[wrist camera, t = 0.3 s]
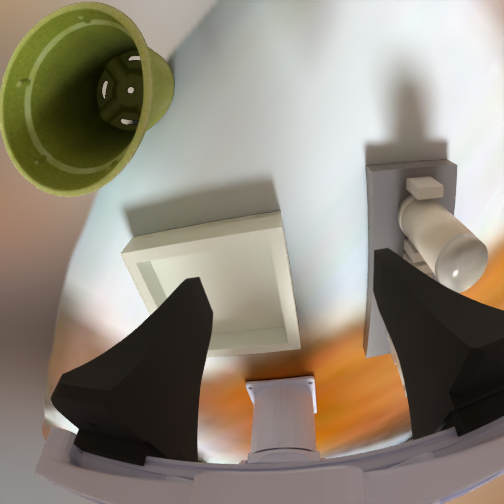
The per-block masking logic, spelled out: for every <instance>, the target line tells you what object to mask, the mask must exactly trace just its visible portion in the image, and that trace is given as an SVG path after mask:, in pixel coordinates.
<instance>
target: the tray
mask: <svg viewBox="0 0 504 504" xmlns="http://www.w3.org/2000/svg"><path fill="white" fill-rule="evenodd" d="M121 256H122V258H123V260H124V263H125V265H126V267H127V269H128V271H129V273H130V275H131V277H132V279H133V282H134V284H135V286H136V288H137V290H138V292H139V294H140V296H141V298H142V300H143V301H144V303H145V305H146V307H147V309H148V311H149V313H150V315H151V314H152V313H153V312H154V311H155V310H156V309H157V308H158V307H159V306H160V305H161V304H162V303H163V302H164V301H165V300H166V299H167V298H168V297H169V296H170V295H171V293H172V292H173V291H174V290H175V289H176V288H177V287H178V286H179V285H180V284H181V283H182V282H183V281H184V280H185V279H186V278H194V277H200V279H201V282H202V285H203V287H204V290H205V293H206V295H207V298H208V300H209V303H210V305H211V308H212V310H213V326H212V335H211V339H210V344H209V348H208V353H207V357H216V356H232V355H246V354H258V353H268V352H278V351H287V350H296V349H301V345H300V333H299V324H298V317H297V310H296V303H295V297H294V290H293V283H292V277H291V271H290V264H289V258H288V252H287V246H286V240H285V234H284V228H283V222H282V217H281V211H276V212H269V213H263V214H257V215H251V216H245V217H239V218H233V219H227V220H221V221H216V222H210V223H204V224H199V225H193V226H188V227H182V228H177V229H172V230H167V231H161V232H156V233H151V234H146V235H141V236H136V237H133V238H132V239H131V241H130V242H129V243H128V244H127V246H126V247H125V248H124V250H123V251H122V252H121Z"/></svg>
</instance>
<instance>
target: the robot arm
mask: <svg viewBox="0 0 504 504" xmlns="http://www.w3.org/2000/svg"><path fill="white" fill-rule="evenodd" d="M373 292H374V296H375V299H376V303H377V306H378V309H379V312H380V314H381V317H382V319H383V321H384V324H385V326H386V328H387V331H388V333H389V336H390V338H391V340H392V343H393V345H394V348H395V350H396V353H397V356H398V359H399V362H400V366H401V370H402V374H403V378H404V383H405V388H406V393H407V398H408V404H409V410H410V417H411V425H412V435H413V441H409V442H406V443H402V444H399V445H395V446H391V447H387V448H383V449H378V450H374V451H369V452H365V453H359V454H354V455H349V456H343V457H336V458H330V459H325V458H320V453H319V451H316V436H315V422H314V414H315V413H317V407H316V393H315V380H314V377H313V376H305V377H296V378H287V379H276V380H265V381H251V382H246V388H247V391H248V393H249V395H250V398H251V400H252V402H253V405H254V408H253V424H252V440H251V453H248V461H247V460H242V461H241V462H240V463H239V464H215V463H199V462H198V453H197V428H198V408H199V396H200V385H201V379H202V374H203V370H204V366H205V361H206V357H207V353H208V348H209V344H210V339H211V335H212V326H213V310H212V308H211V305H210V303H209V300H208V298H207V295H206V293H205V290H204V287H203V285H202V282H201V279H200V277H194V278H186V279H185V280H184V281H183V282H182V283H181V284H180V285H179V286H178V287H177V288H176V289H175V290H174V291H173V292H172V293H171V295H170V296H169V297H168V298H167V299H166V300H165V301H164V302H163V303H162V304H161V305H160V306H159V307H158V308H157V309H156V310H155V311H154V312H153V313H152V314H151V315H150V316H149V317H148V318H147V319H146V320H145V321H144V322H143V323H142V324H141V325H140V326H139V327H138V328H137V329H135V330H134V331H133V332H132V333H131V334H129V335H128V336H127V337H126V338H124V339H123V340H122V341H120V342H119V343H118V344H116V345H115V346H113V347H112V348H111V349H109V350H108V351H106V352H105V353H103V354H101V355H100V356H98V357H97V358H95V359H93V360H91V361H89V362H88V363H86V364H84V365H82V366H80V367H78V368H75V369H73V370H71V371H69V372H67V373H64V374H62V376H61V378H60V380H59V382H58V384H57V386H56V388H55V390H54V392H53V394H52V396H51V401H52V403H53V405H54V407H55V408H56V409H57V410H58V411H59V412H60V413H61V414H62V415H63V416H64V417H65V418H67V419H68V420H69V421H70V422H71V423H72V424H74V425H75V426H76V427H77V428H78V429H79V431H78V433H77V435H76V434H75V433H73V432H70V431H68V430H65V429H61V428H58V427H55V426H52V428H51V431H50V433H49V435H48V438H47V440H46V443H45V445H44V448H43V450H42V453H41V456H40V459H39V461H38V464H37V466H36V469H35V473H36V474H38V475H39V476H41V477H43V478H45V479H46V480H48V481H50V482H52V483H53V484H55V485H57V486H59V487H61V488H63V489H64V490H66V491H68V492H70V493H72V494H75V495H77V496H79V497H81V498H84V499H86V500H89V501H91V502H94V503H96V504H443V503H446V502H448V501H451V500H453V499H455V498H457V497H459V496H462V495H464V494H466V493H468V492H470V491H472V490H474V489H476V488H478V487H480V486H482V485H484V484H486V483H488V482H490V481H491V480H493V479H495V478H497V477H499V476H500V475H502V474H503V473H504V311H503V310H500V309H497V308H494V307H490V306H488V305H485V304H482V303H479V302H477V301H475V300H472V299H470V298H468V297H465V296H463V295H461V294H459V293H457V292H455V291H453V290H452V289H450V288H448V287H446V286H444V285H442V284H441V283H439V282H437V281H436V280H434V279H433V278H431V277H429V276H428V275H426V274H425V273H423V272H422V271H420V270H419V269H417V268H416V267H415V266H413V265H412V264H410V263H409V262H408V261H406V260H405V259H403V258H402V257H401V256H399V255H398V254H396V253H395V252H394V251H392V250H391V249H389V248H384V249H378V250H374V274H373Z"/></svg>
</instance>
